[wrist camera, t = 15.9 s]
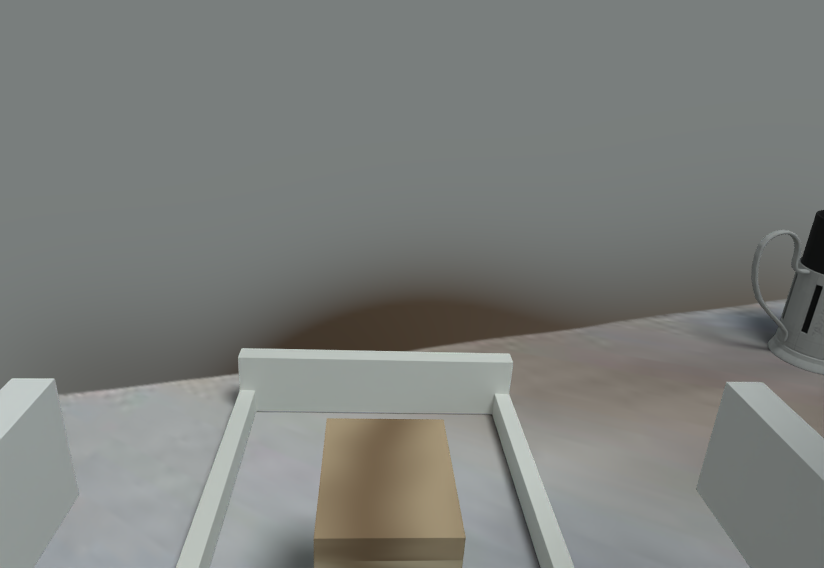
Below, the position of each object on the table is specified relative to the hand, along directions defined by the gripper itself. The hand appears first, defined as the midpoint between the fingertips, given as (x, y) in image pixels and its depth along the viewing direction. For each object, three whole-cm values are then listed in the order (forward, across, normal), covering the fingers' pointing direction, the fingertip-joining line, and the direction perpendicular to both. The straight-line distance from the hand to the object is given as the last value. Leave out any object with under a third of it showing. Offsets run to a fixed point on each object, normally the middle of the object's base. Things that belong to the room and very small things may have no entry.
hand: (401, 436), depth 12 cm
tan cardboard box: (+12, 0, -22) cm, 25 cm away
